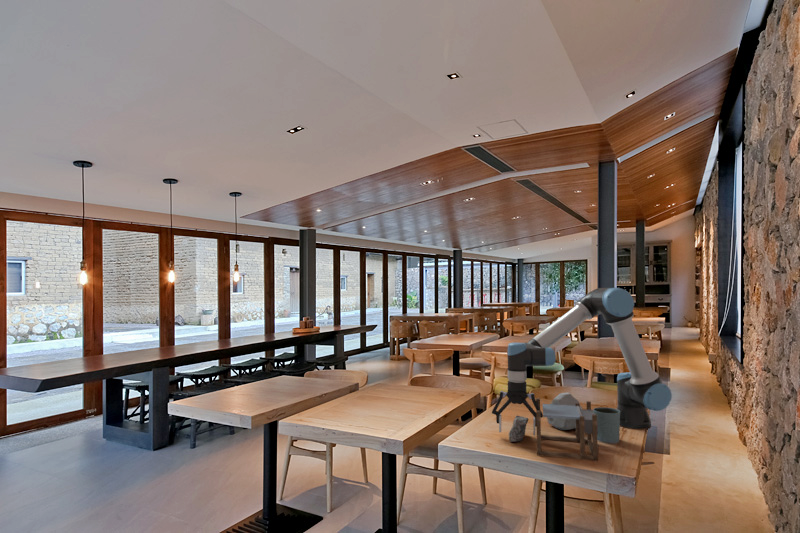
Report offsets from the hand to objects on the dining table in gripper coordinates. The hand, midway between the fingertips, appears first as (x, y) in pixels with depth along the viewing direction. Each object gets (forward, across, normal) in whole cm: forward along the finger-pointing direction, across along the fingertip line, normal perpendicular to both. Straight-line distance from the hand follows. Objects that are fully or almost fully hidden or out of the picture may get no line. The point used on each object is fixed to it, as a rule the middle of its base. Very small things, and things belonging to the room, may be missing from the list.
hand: (517, 432), depth 195 cm
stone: (+2, -20, -21) cm, 29 cm away
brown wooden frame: (+2, -18, +7) cm, 20 cm away
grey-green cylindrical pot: (+2, -35, -8) cm, 36 cm away
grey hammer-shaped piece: (-6, -20, +7) cm, 22 cm away
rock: (+3, 0, 0) cm, 3 cm away
